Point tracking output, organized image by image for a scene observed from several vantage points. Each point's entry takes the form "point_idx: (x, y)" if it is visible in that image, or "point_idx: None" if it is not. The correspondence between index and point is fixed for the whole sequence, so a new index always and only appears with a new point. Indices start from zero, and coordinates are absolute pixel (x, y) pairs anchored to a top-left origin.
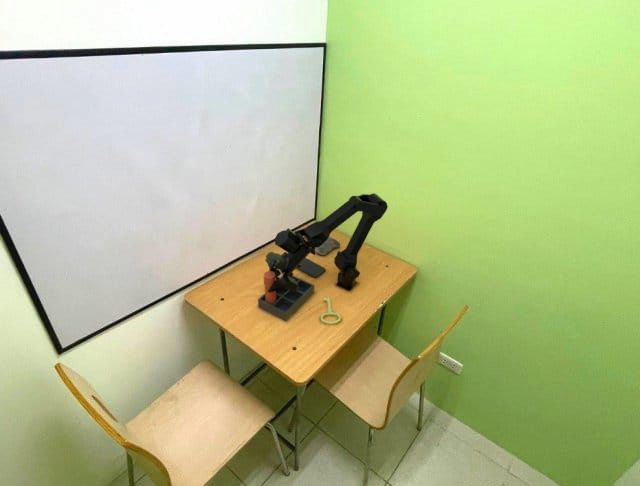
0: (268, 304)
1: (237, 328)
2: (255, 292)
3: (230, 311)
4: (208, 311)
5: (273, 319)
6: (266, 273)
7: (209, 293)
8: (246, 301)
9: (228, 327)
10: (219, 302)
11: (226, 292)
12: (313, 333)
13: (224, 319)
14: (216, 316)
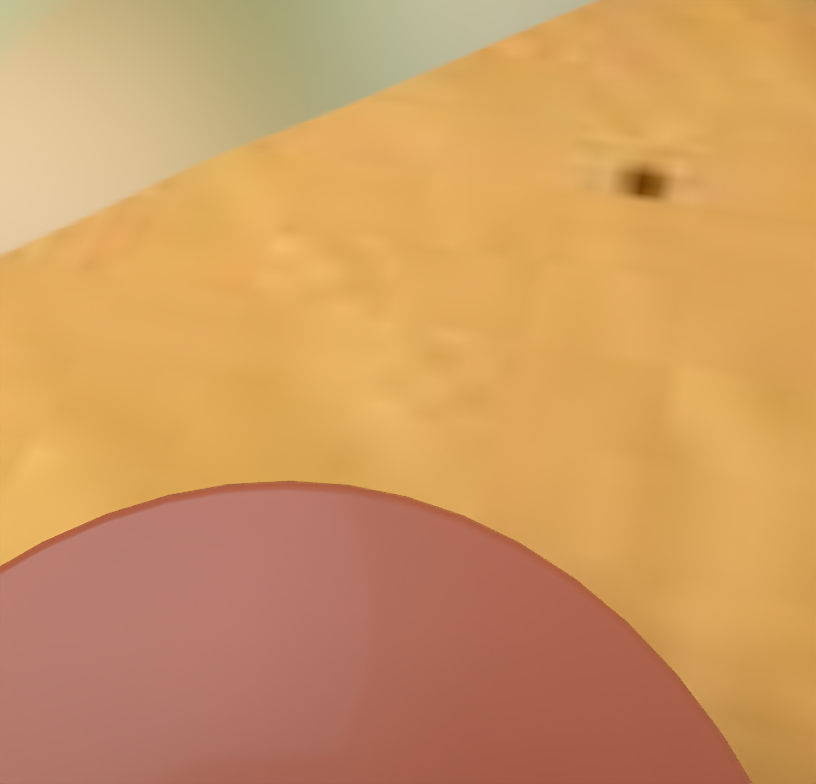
0: None
1: (127, 252)
2: (725, 580)
3: (421, 228)
4: (481, 55)
5: None
6: (503, 764)
7: (758, 89)
8: (553, 422)
9: (184, 178)
10: (596, 152)
11: (760, 234)
12: None
13: (316, 161)
14: (387, 104)
